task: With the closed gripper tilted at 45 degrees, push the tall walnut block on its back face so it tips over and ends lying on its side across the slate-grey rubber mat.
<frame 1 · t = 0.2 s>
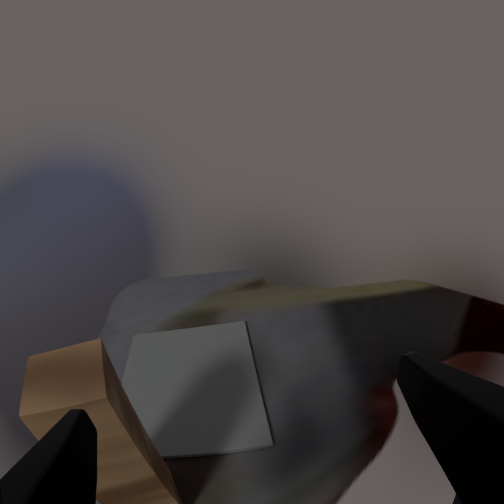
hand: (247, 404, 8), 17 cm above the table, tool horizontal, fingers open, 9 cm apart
block: (150, 498, 18), on the table
mat: (186, 383, 30), on the table
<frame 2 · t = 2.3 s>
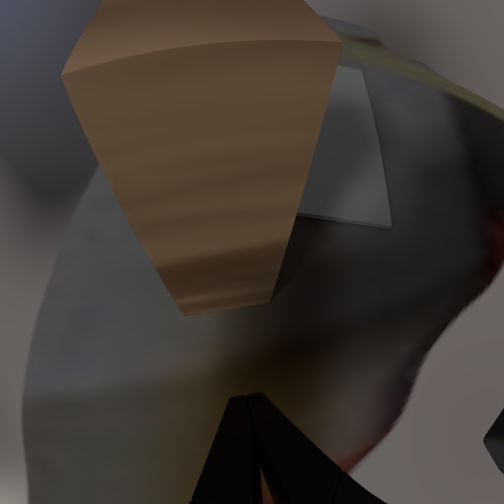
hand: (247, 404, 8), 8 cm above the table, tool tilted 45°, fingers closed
block: (220, 269, 18), on the table
mat: (288, 116, 23), on the table
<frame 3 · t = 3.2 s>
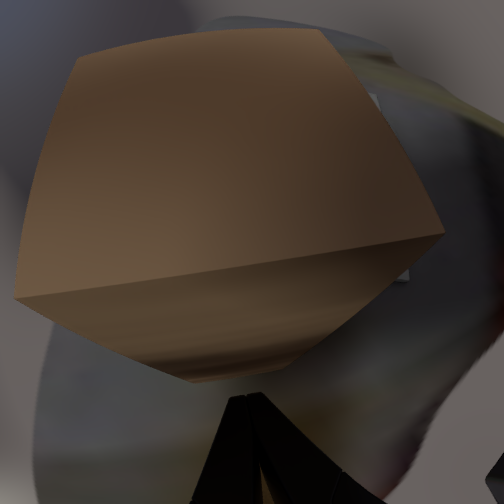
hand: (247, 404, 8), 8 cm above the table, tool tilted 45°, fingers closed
block: (231, 334, 16), on the table
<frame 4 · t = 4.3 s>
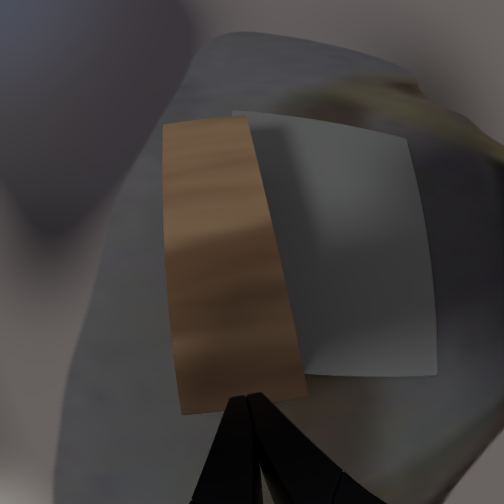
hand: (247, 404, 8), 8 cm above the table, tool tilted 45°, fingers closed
block: (244, 406, 12), point 3 cm above the table, tilted 90°, touching mat
mat: (325, 222, 19), on the table
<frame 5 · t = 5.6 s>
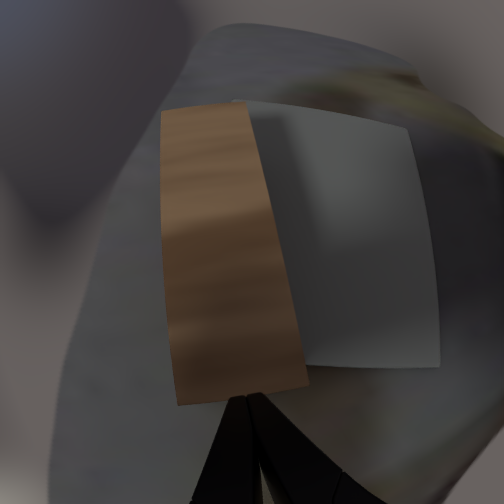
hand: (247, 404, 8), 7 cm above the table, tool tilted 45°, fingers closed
block: (243, 397, 12), point 3 cm above the table, tilted 90°, touching mat
mat: (326, 211, 19), on the table
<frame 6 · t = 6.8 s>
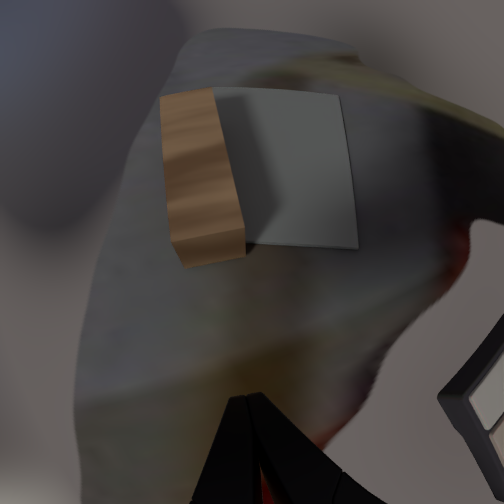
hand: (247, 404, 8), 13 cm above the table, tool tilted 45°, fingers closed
block: (211, 250, 21), point 3 cm above the table, tilted 90°, touching mat
mat: (271, 152, 28), on the table
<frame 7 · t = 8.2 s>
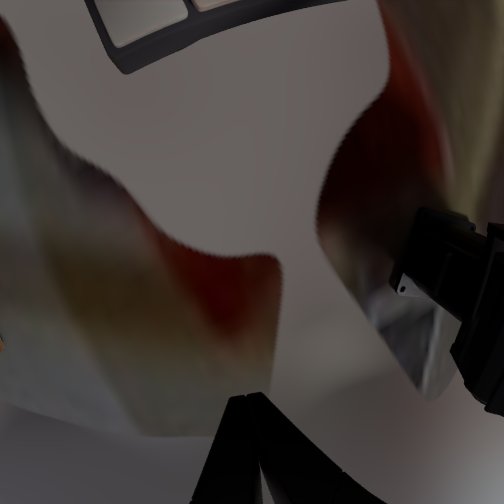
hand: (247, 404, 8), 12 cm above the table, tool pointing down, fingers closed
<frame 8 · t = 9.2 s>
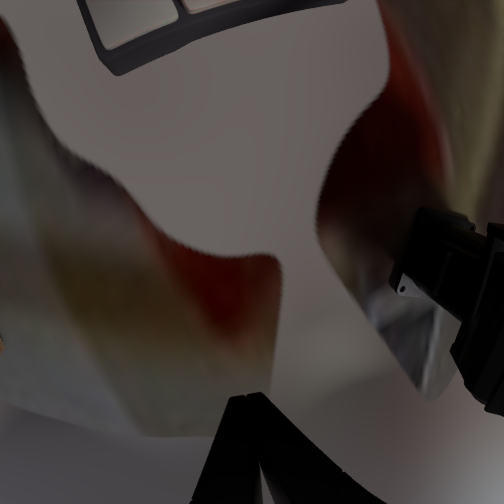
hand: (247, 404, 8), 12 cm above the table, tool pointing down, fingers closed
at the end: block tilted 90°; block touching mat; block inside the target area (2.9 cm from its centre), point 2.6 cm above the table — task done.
